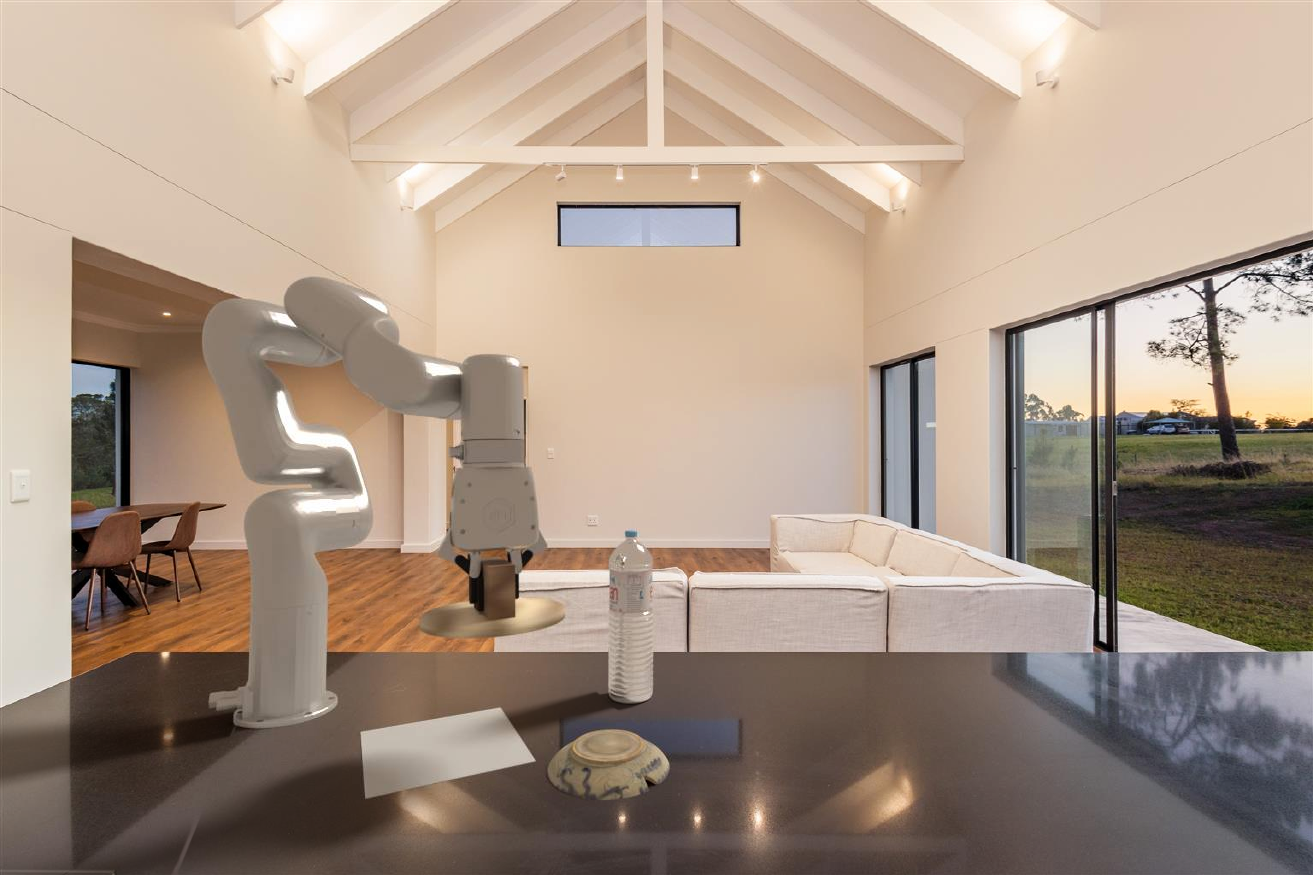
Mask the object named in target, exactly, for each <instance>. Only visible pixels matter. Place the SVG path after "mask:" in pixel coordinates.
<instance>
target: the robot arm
mask: <svg viewBox="0 0 1313 875" xmlns="http://www.w3.org/2000/svg"><path fill="white" fill-rule="evenodd" d="M399 342H400V328H399V326H398V324H397V322H396V321H395V320H394V318H393V317H392V316H391V315H390V312H389V309H388V306H387V305H386V303H385V302H384V301H383V300H382V299H381V298H380V297H379V296H378V295H376V294H374V293H372V292H370V291H367V290H364V289H361V288H358V287H355V286H353V285H350V284H346V283H343V282H340V281H337V280H333V279H330V278H326V277H323V276H322V277H321V276H307V277H303V278H299V279H298V280H296V281H293V283H292V284H290V285H289V286H288V287H287V289H286V291H285V293H284V296H283V306H282V305H279V304H275V303H271V302H268V301H264V300H257V299H250V298H243V297H241V298H229V299H225V300H223V301H220V302H218V303H217V304H215V305H214V306H213V307H212V308H211V309H210V310H209V312H208V314H207V315H206V318H205V321H204V323H203V328H202V334H201V346H202V347H201V349H202V355H203V359H204V362H205V365H206V367H207V370H208V372H209V374H210V376H211V379H212V380H213V382H214V384H215V386H216V388H217V391H218V392H219V395H220V397H221V399H222V401H223V405H224V408H225V411H226V416H227V420H228V423H229V428H230V431H231V434H232V438H233V443H234V446H235V450H236V453H237V456H238V460H239V463H240V466H241V468H242V471H243V473H244V475H245V476H246V478H247V479H248V480H250V482H253V483H255V484H259V485H268V486H288V485H289V486H293V485H294V486H295V485H298V486H300V485H310V486H311V487H297V488H296V487H293V488H292V487H291V488H282V489H277V490H273V491H267V492H265V493H263V494H262V495H259V496H258V497H257V498H255V499H254V500H253V501H252V502H251V503H250V505H249V506H248V507H247V508H246V512H245V514H244V519H243V530H244V537H245V542H246V547H247V551H248V552H247V553H248V559H249V568H250V569H249V570H250V601H249V602H250V604H249V605H250V614H249V616H250V617H249V619H250V622H249V649H248V652H249V653H248V677H247V678H248V679H247V681H246V684H245V686H238V688H237V689H236V690H230V691H226V690H225V691H224V690H222V691H217V692H211V693H210V694H209V696H208V697H209V698H208V708H209V709H213V708H216V711H217V712H219V711H225V710H229V709H235V708H237V709H236V710H235V711H234V712H233V724H234V725H235V727H242V728H248V729H275V728H281V727H286V726H293V725H297V724H300V723H304V722H308V721H311V720H314V719H316V718H319V717H322V716H323V715H326V714H328V713H329V712H331V711H333V709H335V708H336V707H337V705H338V695H337V694H336V693H334V692H332V691H330V690H327V657H328V656H327V652H328V651H327V650H328V620H329V618H328V616H329V614H328V612H329V584H328V579H327V576H326V574H325V571H324V569H323V567H322V565H321V564H320V563H319V561H318V559H317V557H316V555H315V554H316V553H320V552H327V551H335V550H340V549H347V548H351V547H355V546H357V545H359V544H361V543H362V542H364V541H365V540H366V539H367V538H368V536H369V534H370V532H371V530H372V528H373V522H374V511H373V505H372V501H371V498H370V494H369V491H368V487H367V485H366V480H365V476H364V474H363V471H362V468H361V465H360V461H359V458H358V454H357V452H356V450H355V447H354V444H353V443H352V441H351V439H350V438H349V436H348V435H347V434H346V433H345V432H344V431H342V429H339V428H338V427H336V426H333V425H329V424H321V423H311V422H305V421H303V420H301V419H300V418H299V417H298V414H297V413H296V412H297V411H296V409H295V406H294V403H293V399H292V396H291V392H290V391H289V390H288V388H287V386H286V385H285V384H284V382H283V381H282V380H281V378H280V377H279V376H278V375H277V374H276V373H275V372H274V371H273V370H272V369H271V367H269V366H268V365H267V364H266V361H272V362H276V363H282V364H289V365H295V366H302V367H307V368H319V367H320V368H321V367H326V366H329V365H331V364H334V363H336V362H339V361H341V360H342V364H343V368H344V371H345V373H346V376H347V378H348V379H349V381H350V383H351V384H352V385H353V386H354V387H355V388H356V389H358V390H360V391H361V392H362V393H363V394H365V395H366V396H368V397H369V398H371V399H372V400H373V401H375V402H376V403H378V404H379V405H380V406H382V407H384V408H386V409H388V410H391V411H392V412H395V413H398V414H401V415H406V416H413V417H414V416H416V417H424V418H426V417H427V418H428V417H429V418H434V419H441V420H442V419H443V420H453V421H460V422H461V423H460V431H461V432H460V435H461V436H460V442H459V444H458V445H455V446H449V448H448V458H449V459H451V458H452V459H453V458H454V459H455V460H458V461H459V463H460V464H461V466H460V467H456V468H455V471H454V475H453V481H452V488H451V496H450V498H451V499H450V509H449V524H448V526H449V528H448V530H447V532H446V534H445V536H444V538H443V540H442V541H441V543H440V545H439V547H438V548H437V551H436V555H437V556H438V557H439V558H441V559H443V560H445V561H448V562H450V563H453V564H454V565H457V566H458V567H459V568H460V569H462V571H463V572H464V573H465V574H467V575H468V601H469V603H470V604H474V608H475V609H476V610H477V611H478V612H481V611H483V610H484V579H483V577H482V572H481V571H480V567H481V558H482V554H483V552H490V551H491V552H492V551H504V550H505V556H506V557H505V558H506V561H508V562H510V563H512V564H514V565H515V599H519V597H520V573H522V571H523V569H524V567H526V565H527V564H528V563H529V562H530V561H531V560H532V559H533V558H534V557H535V556H536V557H537V555H539V554H541V553H542V552H544V551H545V550H547V548H548V543H547V541H546V540H545V537H544V536H543V534H542V532H541V531H540V524H539V523H540V522H539V513H538V512H539V511H538V509H539V508H538V498H537V492H536V491H537V490H536V483H535V479H534V473H533V470H532V466H525V404H524V403H525V393H524V392H525V390H524V388H525V387H524V384H525V383H524V381H525V380H524V377H525V376H524V368H523V364H522V362H521V361H520V360H519V359H518V358H516V357H514V356H511V355H506V354H501V353H500V354H499V353H482V354H474V355H471V356H468V357H467V358H465V359H464V361H463V362H462V363H460V362H457V361H453V360H448V359H445V358H441V357H436V356H431V355H427V354H423V353H422V354H421V353H419V352H418V353H417V352H414V351H412V350H410V349H408V348H406V347H404V346H402V345H401V344H399ZM454 548H455V549H457V550H459V551H461V552H464V553H466V557H465V555H463V554H461V553H459V552H457V551H454Z"/></svg>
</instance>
